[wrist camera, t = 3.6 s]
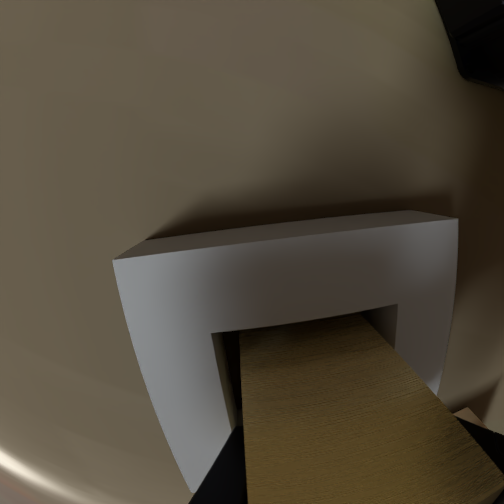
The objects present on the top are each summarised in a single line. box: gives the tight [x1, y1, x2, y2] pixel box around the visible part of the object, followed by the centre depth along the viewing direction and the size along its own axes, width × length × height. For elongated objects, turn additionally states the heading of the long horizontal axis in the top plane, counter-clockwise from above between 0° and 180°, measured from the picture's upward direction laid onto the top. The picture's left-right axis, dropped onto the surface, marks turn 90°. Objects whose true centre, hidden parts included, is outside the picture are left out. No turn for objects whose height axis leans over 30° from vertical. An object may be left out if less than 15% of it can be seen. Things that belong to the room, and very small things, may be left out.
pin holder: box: [112, 210, 458, 493], centre depth 10 cm, size 10×10×3 cm
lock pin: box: [239, 312, 504, 504], centre depth 7 cm, size 4×4×9 cm
